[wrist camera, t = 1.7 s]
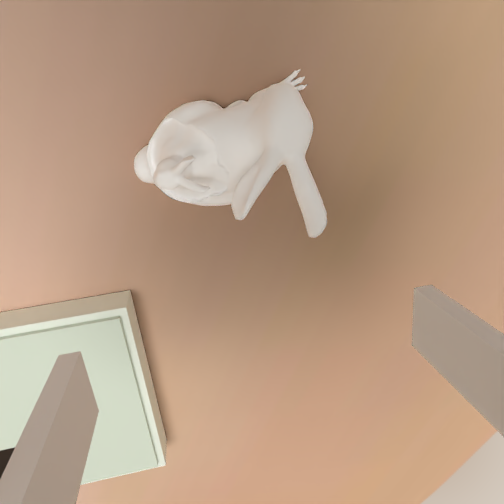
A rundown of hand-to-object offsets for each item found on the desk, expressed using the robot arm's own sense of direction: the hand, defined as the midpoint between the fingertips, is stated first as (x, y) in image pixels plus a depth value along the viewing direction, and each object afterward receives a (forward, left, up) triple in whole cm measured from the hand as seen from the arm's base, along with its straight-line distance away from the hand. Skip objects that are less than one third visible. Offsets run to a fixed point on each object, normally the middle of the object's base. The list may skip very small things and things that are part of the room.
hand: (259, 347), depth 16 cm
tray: (+10, -15, -14) cm, 22 cm away
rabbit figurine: (-6, +1, -14) cm, 15 cm away
